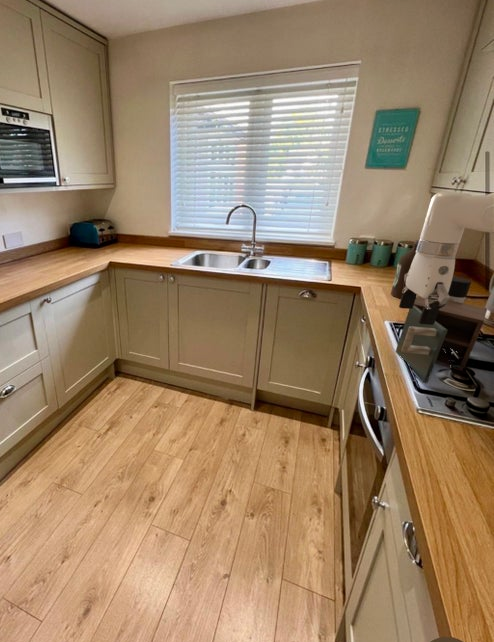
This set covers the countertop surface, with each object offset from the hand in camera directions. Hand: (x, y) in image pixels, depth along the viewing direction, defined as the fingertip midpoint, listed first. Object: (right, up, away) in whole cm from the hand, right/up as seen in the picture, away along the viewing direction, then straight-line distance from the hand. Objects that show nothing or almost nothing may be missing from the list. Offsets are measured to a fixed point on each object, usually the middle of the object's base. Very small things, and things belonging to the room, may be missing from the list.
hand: (415, 315), depth 83 cm
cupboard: (+18, -12, +18) cm, 29 cm away
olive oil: (+40, +6, +65) cm, 77 cm away
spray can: (+30, -8, +31) cm, 44 cm away
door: (+3, -15, +12) cm, 19 cm away
